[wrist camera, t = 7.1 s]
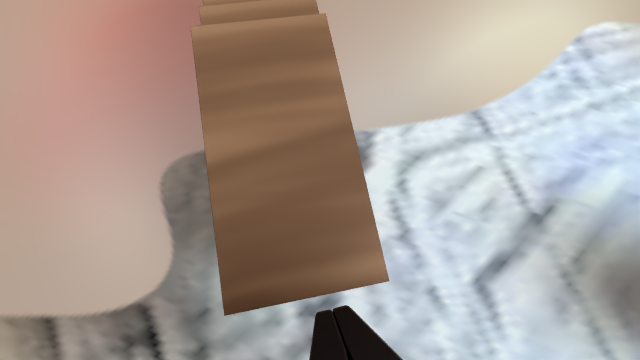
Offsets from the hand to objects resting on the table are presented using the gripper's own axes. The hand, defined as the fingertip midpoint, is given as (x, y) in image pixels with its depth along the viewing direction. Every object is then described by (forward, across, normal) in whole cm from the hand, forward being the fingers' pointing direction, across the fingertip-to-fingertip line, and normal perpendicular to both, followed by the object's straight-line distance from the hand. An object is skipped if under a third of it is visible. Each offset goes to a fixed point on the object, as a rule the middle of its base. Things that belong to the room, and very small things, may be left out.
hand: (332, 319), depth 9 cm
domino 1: (+2, 0, +1) cm, 2 cm away
